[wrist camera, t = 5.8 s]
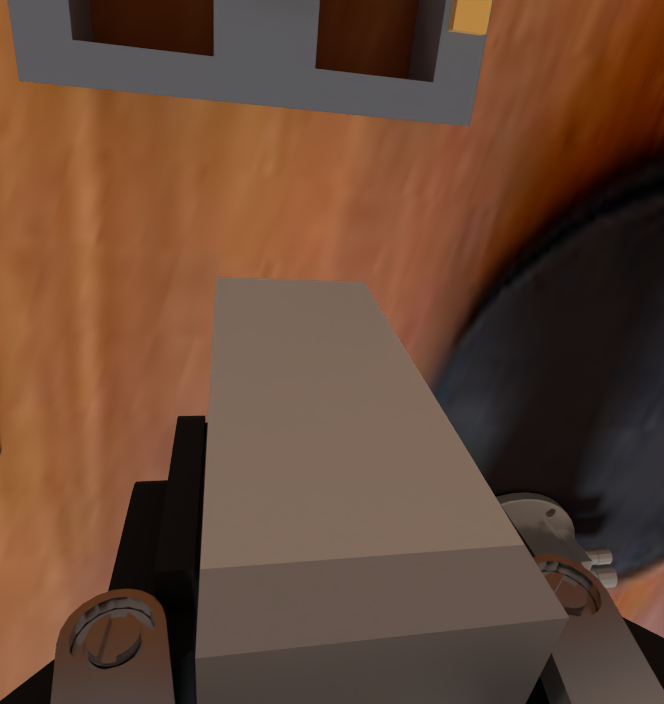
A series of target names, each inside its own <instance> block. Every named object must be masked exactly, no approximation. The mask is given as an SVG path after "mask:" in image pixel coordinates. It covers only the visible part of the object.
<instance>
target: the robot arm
mask: <svg viewBox="0 0 664 704" xmlns="http://www.w3.org/2000/svg"><path fill="white" fill-rule="evenodd" d="M207 430H208V423H205V416H178V419H177V425H176V431H175V438H174V444H173V451H172V457H171V463H170V470H169V476H168V480H165V481H142V482H136V483H135V484H134V488H133V491H132V495H131V499H130V503H129V507H128V512H127V516H126V520H125V524H124V528H123V532H122V536H121V540H120V545H119V549H118V553H117V557H116V561H115V565H114V569H113V573H112V578H111V582H110V586H109V590H108V592H106V593H103V594H100V595H97V596H95V597H93V598H92V599H90V600H88V601H87V602H85V603H83V604H82V605H81V606H80V607H79V608H78V609H76V610H75V611H74V612H73V613H72V614H71V615H70V616H69V617H68V619H67V621H66V622H65V624H64V625H63V627H62V628H61V630H60V633H59V637H58V640H57V644H56V652H55V659H54V660H53V661H51V662H50V663H49V664H47V665H46V666H45V667H44V668H42V669H41V670H40V671H38V672H37V673H36V674H35V675H33V676H32V677H31V678H29V679H28V680H27V681H25V682H24V683H23V684H22V685H20V686H19V687H18V688H16V689H15V690H14V691H13V692H11V693H10V694H9V695H7V696H6V697H5V698H3V699H2V700H1V701H0V704H197V692H196V665H195V654H196V635H197V617H198V598H199V579H200V561H201V542H202V523H203V505H204V486H205V467H206V449H207ZM496 498H497V500H498V502H499V503H500V505H501V507H502V508H503V510H504V512H505V513H506V515H507V516H508V518H509V520H510V521H511V523H512V525H513V526H514V528H515V530H516V531H517V533H518V534H519V536H520V538H521V539H522V541H523V543H524V544H525V546H526V548H527V549H528V551H529V552H530V554H531V556H532V557H533V559H534V561H535V562H536V564H537V566H538V567H539V569H540V570H541V572H542V574H543V575H544V577H545V579H546V580H547V582H548V584H549V585H550V587H551V588H552V590H553V592H554V593H555V595H556V597H557V598H558V600H559V602H560V603H561V605H562V606H563V608H564V610H565V611H566V613H567V615H568V616H569V619H568V621H567V623H566V625H565V627H564V629H563V631H562V633H561V635H560V637H559V639H558V641H557V643H556V645H555V647H554V649H553V651H552V653H551V655H550V657H549V658H548V660H547V662H546V664H545V666H544V668H543V670H542V672H541V674H540V676H539V678H538V680H537V682H536V684H535V686H534V688H533V690H532V692H531V694H530V696H529V698H528V700H527V702H526V704H664V638H662V637H660V636H659V635H657V634H655V633H653V632H651V631H649V630H647V629H645V628H643V627H641V626H639V625H637V624H635V623H633V622H631V621H629V620H627V619H625V618H623V617H622V615H621V614H620V612H619V611H618V609H617V607H616V605H615V604H614V602H613V600H612V598H611V597H610V595H609V593H608V591H607V590H606V588H612V587H615V586H616V585H617V575H616V572H615V570H614V569H613V567H612V566H610V565H609V564H610V563H611V562H612V554H611V552H610V550H609V549H608V548H607V547H597V548H590V549H584V548H583V547H581V546H580V545H579V544H578V542H577V541H576V540H575V536H574V527H573V523H572V520H571V519H570V517H569V516H568V514H567V513H566V512H565V511H564V509H563V508H562V507H561V506H560V505H559V504H558V503H557V502H555V501H554V500H552V499H551V498H549V497H546V496H543V495H540V494H535V493H527V492H525V493H511V494H506V495H502V496H498V497H496Z"/></svg>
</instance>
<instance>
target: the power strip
mask: <svg viewBox="0 0 664 704" xmlns="http://www.w3.org/2000/svg"><path fill="white" fill-rule="evenodd" d="M492 4H493V0H418V7H417V14H416V21H415V29H414V36H413V43H412V51H411V58H410V65H409V72H408V79H400V78H391V77H383V76H375V75H366V74H358V73H349V72H341V71H332V70H324V69H315V64H316V49H317V35H318V21H319V6H320V0H214V56H205V55H197V54H188V53H180V52H171V51H163V50H154V49H146V48H137V47H129V46H120V45H112V44H104V43H95V42H94V39H93V27H92V16H91V4H90V0H8V6H9V12H10V19H11V26H12V33H13V40H14V47H15V54H16V61H17V68H18V75H19V81H26V82H36V83H46V84H56V85H66V86H76V87H86V88H95V89H105V90H115V91H125V92H135V93H145V94H155V95H165V96H174V97H184V98H194V99H204V100H214V101H224V102H234V103H244V104H253V105H263V106H273V107H283V108H293V109H303V110H313V111H323V112H333V113H342V114H352V115H362V116H372V117H382V118H392V119H402V120H412V121H421V122H431V123H441V124H451V125H461V126H470V121H471V115H472V110H473V105H474V100H475V94H476V89H477V84H478V78H479V73H480V68H481V62H482V57H483V52H484V46H485V41H486V36H487V30H488V25H489V20H490V14H491V9H492Z"/></svg>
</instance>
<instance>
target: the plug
mask: <svg viewBox="0 0 664 704" xmlns="http://www.w3.org/2000/svg"><path fill="white" fill-rule="evenodd" d="M568 619H569V616H568V615H567V613H566V611H565V610H564V608H563V606H562V605H561V603H560V602H559V600H558V598H557V597H556V595H555V593H554V592H553V590H552V588H551V587H550V585H549V584H548V582H547V580H546V579H545V577H544V575H543V574H542V572H541V570H540V569H539V567H538V566H537V564H536V562H535V561H534V559H533V557H532V556H531V554H530V552H529V551H528V549H527V548H526V546H525V544H524V543H523V541H522V539H521V538H520V536H519V534H518V533H517V531H516V530H515V528H514V526H513V525H512V523H511V521H510V520H509V518H508V516H507V515H506V513H505V512H504V510H503V508H502V507H501V505H500V503H499V502H498V500H497V498H496V497H495V495H494V494H493V492H492V490H491V489H490V487H489V485H488V484H487V482H486V480H485V479H484V477H483V476H482V474H481V472H480V471H479V469H478V467H477V466H476V464H475V462H474V461H473V459H472V458H471V456H470V454H469V453H468V451H467V449H466V448H465V446H464V444H463V443H462V441H461V440H460V438H459V436H458V435H457V433H456V431H455V430H454V428H453V426H452V425H451V423H450V422H449V420H448V418H447V417H446V415H445V413H444V412H443V410H442V408H441V407H440V405H439V404H438V402H437V400H436V399H435V397H434V395H433V394H432V392H431V390H430V389H429V387H428V386H427V384H426V382H425V381H424V379H423V377H422V376H421V374H420V372H419V371H418V369H417V368H416V366H415V364H414V363H413V361H412V359H411V358H410V356H409V354H408V353H407V351H406V350H405V348H404V346H403V345H402V343H401V341H400V340H399V338H398V336H397V335H396V333H395V332H394V330H393V328H392V327H391V325H390V323H389V322H388V320H387V318H386V317H385V315H384V314H383V312H382V310H381V309H380V307H379V305H378V304H377V302H376V300H375V299H374V297H373V296H372V294H371V292H370V291H369V289H368V287H367V286H366V284H365V282H347V281H318V280H289V279H260V278H232V277H216V280H215V299H214V318H213V336H212V355H211V374H210V392H209V411H208V430H207V449H206V467H205V486H204V505H203V523H202V542H201V561H200V579H199V598H198V617H197V635H196V654H195V665H196V692H197V704H526V702H527V700H528V698H529V696H530V694H531V692H532V690H533V688H534V686H535V684H536V682H537V680H538V678H539V676H540V674H541V672H542V670H543V668H544V666H545V664H546V662H547V660H548V658H549V657H550V655H551V653H552V651H553V649H554V647H555V645H556V643H557V641H558V639H559V637H560V635H561V633H562V631H563V629H564V627H565V625H566V623H567V621H568Z"/></svg>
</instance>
